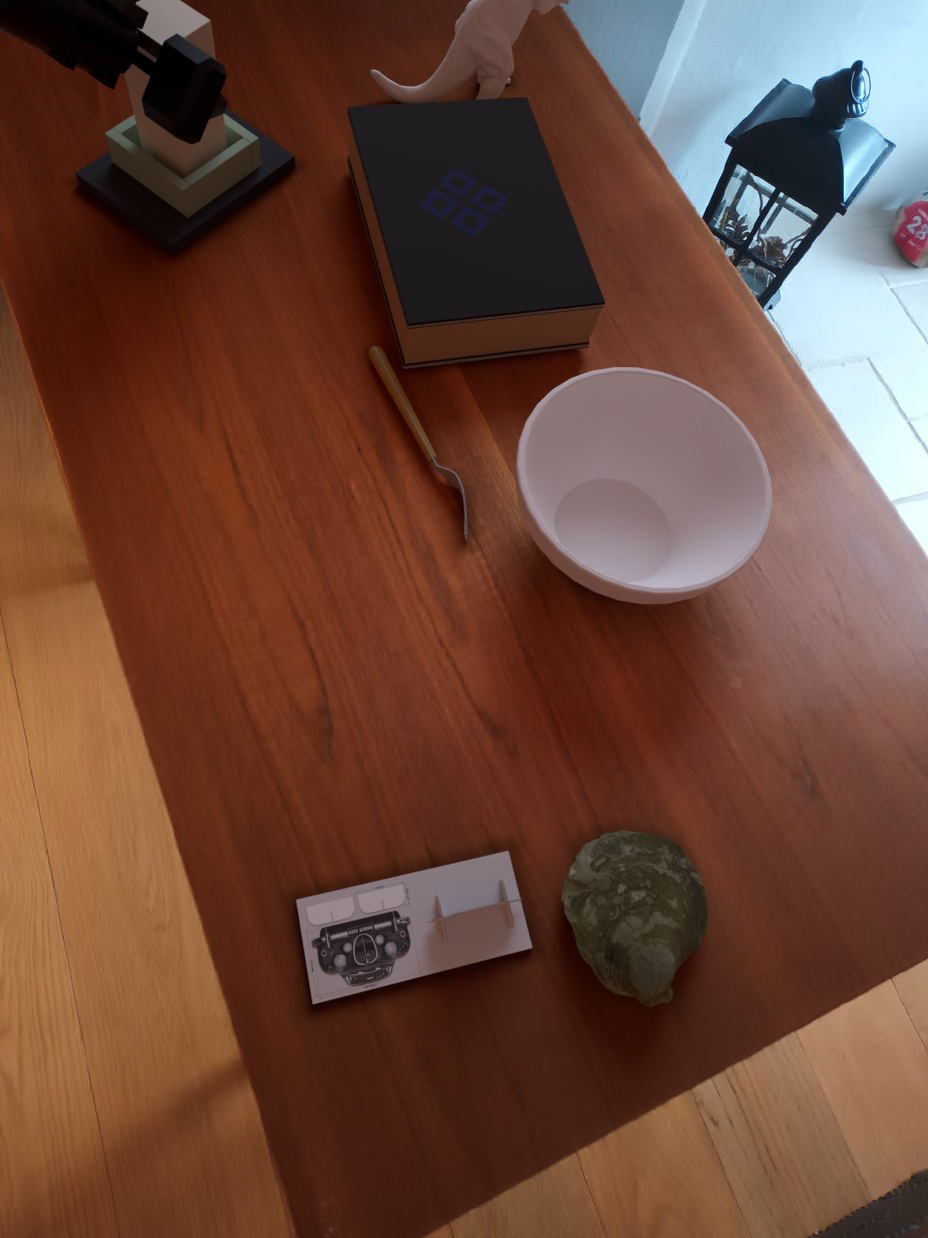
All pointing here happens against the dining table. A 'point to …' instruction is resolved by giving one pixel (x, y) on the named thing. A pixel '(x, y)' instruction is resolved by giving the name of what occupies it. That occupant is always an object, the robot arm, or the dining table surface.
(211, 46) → the white rectangular block
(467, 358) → the book
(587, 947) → the seashell
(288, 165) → the stepped rectangular base
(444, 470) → the fork
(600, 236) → the dining table surface
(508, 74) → the dinosaur figurine
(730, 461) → the bowl
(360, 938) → the car cutout
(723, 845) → the dining table surface
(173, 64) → the robot arm
